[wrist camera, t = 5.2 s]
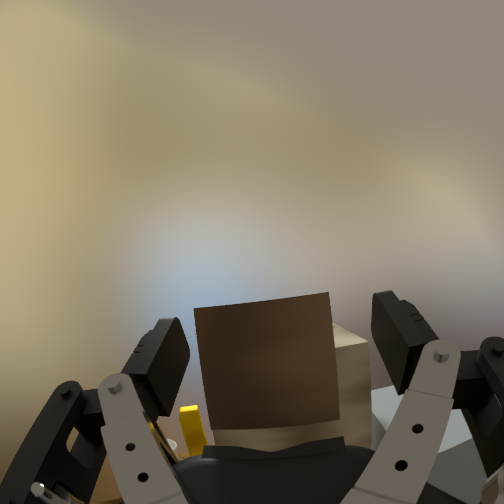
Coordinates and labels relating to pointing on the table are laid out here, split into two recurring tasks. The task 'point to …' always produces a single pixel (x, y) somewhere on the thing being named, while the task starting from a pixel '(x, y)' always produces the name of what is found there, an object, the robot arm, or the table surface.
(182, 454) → the table surface
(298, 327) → the brown block
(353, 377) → the oak stand
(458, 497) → the grey block
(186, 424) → the figure statuette
